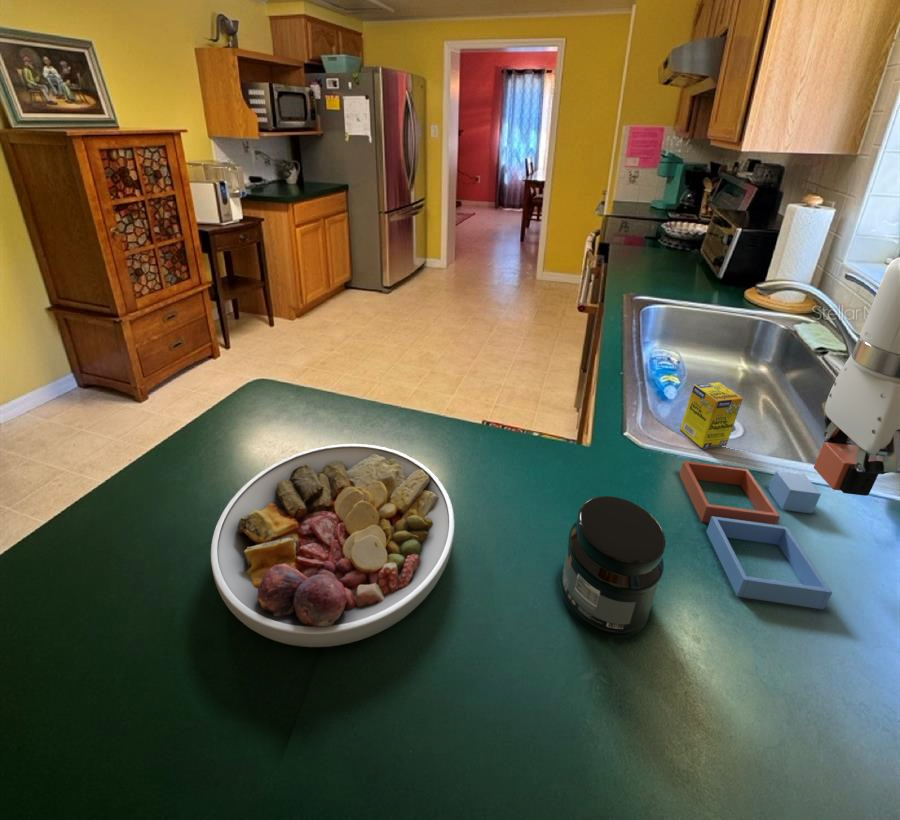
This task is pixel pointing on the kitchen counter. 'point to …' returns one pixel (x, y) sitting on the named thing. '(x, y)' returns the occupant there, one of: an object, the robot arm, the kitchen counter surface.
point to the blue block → (794, 492)
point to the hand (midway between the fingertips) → (841, 478)
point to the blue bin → (763, 589)
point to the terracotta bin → (730, 476)
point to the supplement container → (613, 566)
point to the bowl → (332, 544)
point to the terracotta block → (836, 462)
